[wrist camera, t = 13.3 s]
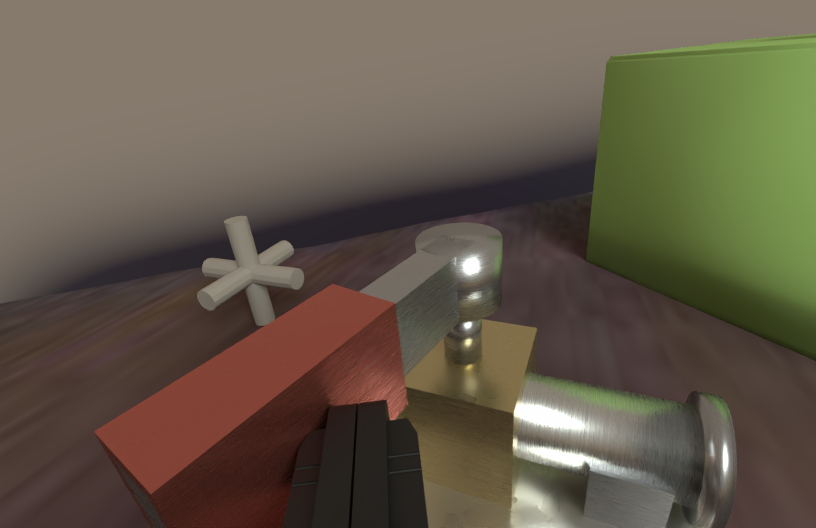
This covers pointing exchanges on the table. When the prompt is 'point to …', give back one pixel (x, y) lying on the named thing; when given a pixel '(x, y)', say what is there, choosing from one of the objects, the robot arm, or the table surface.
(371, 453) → the robot arm
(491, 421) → the valve fixture
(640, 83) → the canister
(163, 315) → the table surface
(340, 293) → the valve lever
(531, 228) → the table surface
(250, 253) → the pipe connector
